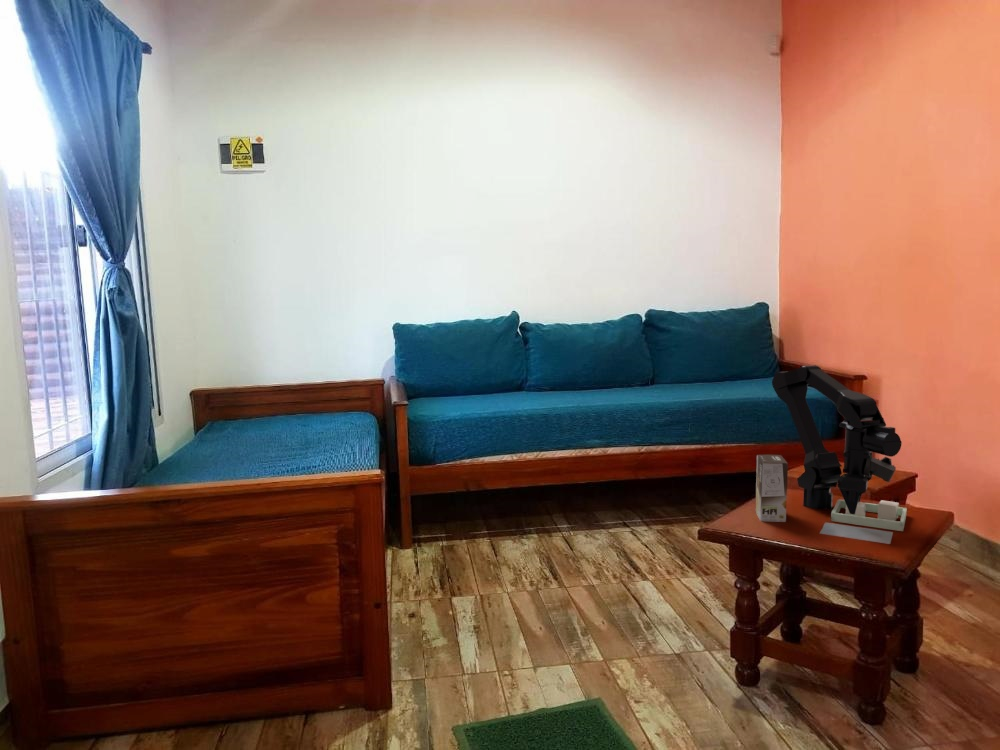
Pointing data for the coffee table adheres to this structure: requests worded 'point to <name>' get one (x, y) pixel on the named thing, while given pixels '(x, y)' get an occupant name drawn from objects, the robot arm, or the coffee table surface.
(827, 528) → the slate slab
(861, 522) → the green bin
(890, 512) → the light grey cube
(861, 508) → the white cube
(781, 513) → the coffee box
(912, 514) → the coffee table surface
